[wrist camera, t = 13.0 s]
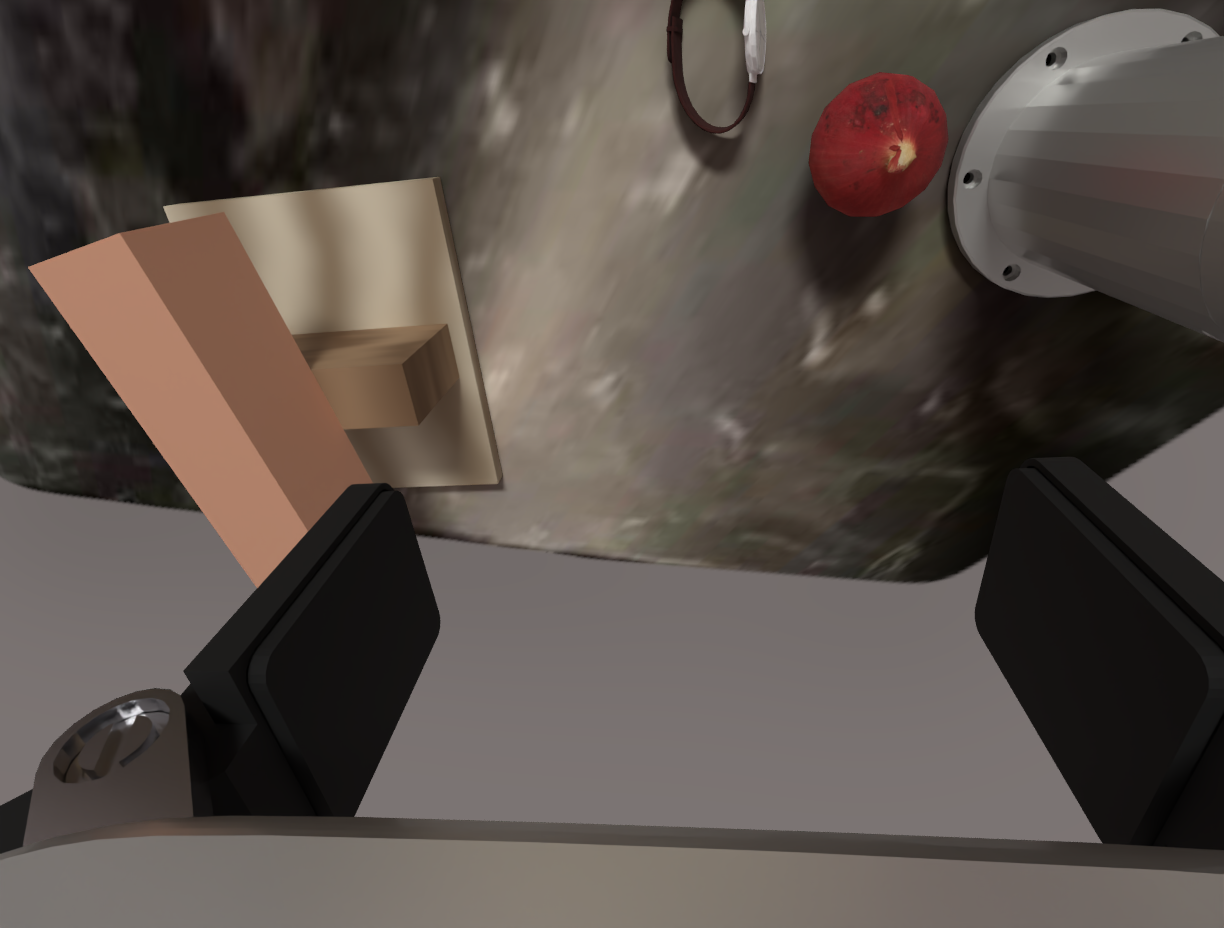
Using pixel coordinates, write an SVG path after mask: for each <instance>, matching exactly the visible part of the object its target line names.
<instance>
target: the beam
mask: <svg viewBox="0 0 1224 928" xmlns="http://www.w3.org/2000/svg"><path fill="white" fill-rule="evenodd" d="M28 268H29V269H30V271H31V272H32V274H33V275H34V276H35V278H36V279H37V281H38V282H39V283H40V285H41V286H42V288H43V289H44V290H45V292H46V293H47V295H48V296H49V297H50V299H51V300H52V302H53V303H54V304H55V306H56V307H57V309H58V310H59V311H60V313H61V314H62V316H63V317H64V318H65V320H66V321H67V323H68V324H69V325H70V327H71V328H72V330H73V331H74V332H75V334H76V335H77V337H78V338H79V339H80V341H81V342H82V344H83V345H84V346H85V348H86V349H87V351H88V352H89V353H90V355H91V356H92V358H93V359H94V360H95V362H96V363H97V365H98V366H99V367H100V369H101V370H102V372H103V373H104V374H105V376H106V377H107V379H108V380H109V381H110V383H111V384H112V386H113V387H114V388H115V390H116V391H117V393H118V394H119V395H120V397H121V398H122V400H123V401H124V402H125V404H126V405H127V407H128V408H129V409H130V411H131V412H132V414H133V415H134V416H135V418H136V419H137V421H138V422H139V423H140V425H141V426H142V428H143V429H144V430H145V432H146V433H147V435H148V436H149V437H150V439H151V440H152V442H153V443H154V444H155V446H156V447H157V449H158V450H159V451H160V453H161V454H162V456H163V457H164V458H165V460H166V461H167V463H168V464H169V465H170V467H171V468H172V470H173V471H174V472H175V474H176V475H177V477H178V478H179V479H180V481H181V482H182V484H183V485H184V486H185V488H186V489H187V491H188V492H189V493H190V495H191V496H192V498H193V499H194V500H195V502H196V503H197V505H198V506H199V507H200V509H201V510H202V512H203V513H204V514H205V516H206V517H207V518H208V520H209V521H210V523H211V524H212V526H213V527H214V528H215V530H216V531H217V533H218V534H219V535H220V537H221V538H222V540H223V541H224V542H225V544H226V545H227V547H228V548H229V549H230V551H231V552H232V554H233V555H234V556H235V558H236V559H237V560H238V562H239V563H240V565H241V566H242V567H243V569H244V570H245V572H246V573H247V574H248V576H249V577H250V579H251V580H252V582H253V583H254V584H255V586H256V587H257V588H258V587H259V586H260V585H261V584H262V582H263V581H264V580H265V579H266V578H267V577H268V576H269V575H270V574H271V572H272V571H273V570H274V569H275V568H276V567H277V566H278V565H279V563H280V562H281V561H282V560H283V559H284V558H285V557H286V556H287V555H288V553H289V552H290V551H291V550H292V549H293V548H294V547H295V546H296V544H297V543H298V542H299V541H300V540H301V539H302V538H303V537H304V536H305V534H306V533H307V532H308V531H309V530H310V529H311V528H312V527H313V525H314V524H315V523H316V522H317V521H318V520H319V519H320V518H321V516H322V515H323V514H324V513H325V512H326V511H327V510H328V509H329V508H330V506H331V505H332V504H333V503H334V502H335V501H336V500H337V499H338V497H339V496H340V495H341V494H342V493H343V492H344V491H345V490H346V489H347V487H349V486H350V485H352V484H368V483H373V482H372V480H371V478H370V477H369V475H368V473H367V471H366V469H365V468H364V466H363V464H362V462H361V460H360V458H359V457H358V455H357V453H356V451H355V449H354V448H353V446H352V444H351V442H350V440H349V438H348V437H347V435H346V433H345V431H344V429H343V428H342V426H341V424H340V422H339V420H338V418H337V417H336V415H335V413H334V411H333V409H332V407H331V406H330V404H329V402H328V400H327V398H326V397H325V395H324V393H323V391H322V389H321V387H320V386H319V384H318V382H317V380H316V378H315V377H314V375H313V373H312V371H311V369H310V367H309V366H308V364H307V362H306V360H305V358H304V357H303V355H302V353H301V351H300V349H299V347H298V346H297V344H296V342H295V340H294V338H293V336H292V335H291V333H290V331H289V329H288V327H287V326H286V324H285V322H284V320H283V318H282V316H281V315H280V313H279V311H278V309H277V307H276V306H275V304H274V302H273V300H272V298H271V296H270V295H269V293H268V291H267V289H266V287H265V286H264V284H263V282H262V280H261V278H260V276H259V275H258V273H257V271H256V269H255V267H254V265H253V264H252V262H251V260H250V258H249V256H248V255H247V253H246V251H245V249H244V247H243V245H242V244H241V242H240V240H239V238H238V236H237V235H236V233H235V231H234V229H233V227H232V225H231V224H230V222H229V220H228V218H227V216H226V215H225V213H224V212H221V213H216V214H211V215H206V216H201V217H196V218H191V219H186V220H182V221H177V222H172V223H167V224H162V225H157V226H152V227H147V228H143V229H138V230H133V231H128V232H123V233H119V234H116V235H113V236H111V237H108V238H105V239H103V240H100V241H97V242H95V243H92V244H89V245H86V246H84V247H81V248H78V249H76V250H73V251H70V252H68V253H65V254H62V255H59V256H57V257H54V258H51V259H49V260H46V261H43V262H41V263H38V264H35V265H32V266H30V267H28Z"/></svg>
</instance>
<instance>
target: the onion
mask: <svg viewBox="0 0 1224 928" xmlns="http://www.w3.org/2000/svg"><path fill="white" fill-rule="evenodd" d="M947 143H948V130H947V120H946V114H945V111H944V109H943V107H942V105H941V103H940V102H939V100H938V98H937V96H936V94H935V92H934V90H932V89H931V88H929V87H928V86H926V85H925V84H923V83H922V82H920V81H919V80H917V79H916V78H914V77H912V76H909V75H901V74H892V73H882V72H879V73H876V74H874V75H871V76H869V77H866V78H864V79H861V80H859V81H856V82H854V83H851V84H849V85H848V86H847V87H846V88H845V89H844V90H843V91H842V92H841V93H840V94H839V95H838V96H837V97H836V98H834V99H833V100H832V101H831V102H830V103H829V104H828V105H827V106H826V107H825V109H824V111H823V113H822V115H821V117H820V119H819V121H818V124H817V126H816V128H815V130H814V132H813V134H812V138H811V147H810V155H809V166H810V170H811V174H812V178H813V182H814V186H815V188H816V189H817V191H818V192H819V193H820V195H821V196H822V197H823V199H824V200H825V202H826V203H827V204H828V206H830V207H832V208H834V209H836V210H838V211H840V212H842V213H844V214H846V215H848V216H855V217H876V216H880V215H883V214H886V213H888V212H891V211H894V210H896V209H899V208H902V207H903V206H904V205H906V204H907V203H908V202H910V201H911V200H912V199H913V198H915V197H916V196H917V195H919V194H920V193H921V192H922V191H924V190H925V189H926V187H927V186H928V184H929V183H930V181H931V180H932V179H933V177H934V176H935V174H936V173H937V171H938V170H939V168H940V167H941V165H942V161H943V158H944V154H945V150H946V147H947Z"/></svg>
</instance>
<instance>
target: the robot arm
mask: <svg viewBox="0 0 1224 928" xmlns="http://www.w3.org/2000/svg"><path fill="white" fill-rule="evenodd" d="M1181 41H1182V42H1181ZM1048 54H1050V55H1051V62H1050V64H1049V65H1048V66H1046V58H1047V56H1048ZM967 173H969V174H970V179H969V181H968V182H966V183H963V179H964V177H965V175H966V174H967ZM948 215H949V220H950V225H951V230H952V233H953V236H954V238H955V240H956V242H957V245H958V247H959V249H960V251H961V253H962V254H963V255H964V257H965V258H966V259H967V261H968V262H969V263H970V264H971V266H972V267H973V268H974V269H975V270H977V271H978V272H979V273H980V274H982V275H983V276H984V277H985V278H987V279H988V280H989V281H991V282H993V283H995V284H997V285H999V286H1001V287H1003V288H1005V289H1008V290H1011V291H1014V292H1017V293H1020V294H1023V295H1027V296H1035V297H1044V298H1054V297H1068V296H1075V295H1079V294H1084V293H1088V292H1092V291H1096V290H1097V291H1099V292H1102V293H1104V294H1107V295H1109V296H1111V297H1114V298H1116V299H1119V300H1121V301H1124V302H1126V303H1129V304H1131V305H1133V306H1136V307H1138V308H1141V309H1143V310H1146V311H1148V312H1151V313H1153V314H1155V315H1158V316H1160V317H1163V318H1165V319H1168V320H1170V321H1173V322H1175V323H1177V324H1180V325H1182V326H1185V327H1187V328H1190V329H1192V330H1195V331H1197V332H1199V333H1202V334H1204V335H1207V336H1209V337H1212V338H1214V339H1217V340H1219V341H1222V342H1224V36H1219V35H1218V34H1217V33H1216V32H1215V31H1214V30H1213V29H1212V28H1211V27H1210V26H1208V25H1206V24H1204V23H1202V22H1200V21H1198V20H1197V19H1195V18H1193V17H1191V16H1189V15H1187V14H1182V13H1178V12H1173V11H1169V10H1164V9H1131V10H1126V11H1121V12H1116V13H1111V14H1106V15H1103V16H1100V17H1097V18H1094V19H1090V20H1087V21H1084V22H1081V23H1078V24H1075V25H1073V26H1071V27H1070V28H1068V29H1066V30H1064V31H1062V32H1060V33H1058V34H1056V35H1054V36H1052V37H1050V38H1048V39H1047V40H1045V41H1044V42H1043V43H1041V44H1040V45H1038V46H1037V47H1036V48H1034V49H1033V50H1032V51H1030V52H1029V53H1027V54H1026V55H1025V56H1023V57H1022V58H1021V59H1020V60H1019V61H1018V62H1016V63H1015V64H1014V65H1013V66H1012V67H1011V68H1010V69H1009V70H1008V71H1007V72H1006V73H1005V74H1004V75H1003V76H1002V77H1001V78H1000V79H999V80H998V81H997V82H996V84H995V85H994V86H993V87H992V89H991V90H990V91H989V93H988V94H987V95H986V97H985V98H984V99H983V100H982V102H981V103H980V104H979V106H978V107H977V109H976V111H975V113H974V114H973V116H972V118H971V120H970V121H969V123H968V125H967V127H966V129H965V130H964V132H963V134H962V137H961V140H960V142H959V145H958V148H957V150H956V153H955V156H954V158H953V162H952V167H951V172H950V177H949V183H948ZM1006 267H1008V270H1007V272H1005V273H1003V271H1004V269H1005V268H1006ZM975 622H976V626H977V629H978V632H979V634H980V636H981V638H982V639H983V641H984V643H985V644H986V646H987V648H988V649H989V651H990V653H991V655H992V656H993V658H994V660H995V661H996V663H997V665H998V666H999V668H1000V670H1001V672H1002V673H1003V675H1004V677H1005V678H1006V680H1007V682H1008V683H1009V685H1010V687H1011V689H1012V690H1013V692H1014V694H1015V695H1016V697H1017V699H1018V701H1019V702H1020V704H1021V706H1022V707H1023V709H1024V711H1025V712H1026V714H1027V716H1028V718H1029V719H1030V721H1031V723H1032V724H1033V726H1034V728H1035V729H1036V731H1037V733H1038V735H1039V736H1040V738H1041V740H1042V741H1043V743H1044V745H1045V747H1046V748H1047V750H1048V751H1049V753H1050V755H1051V757H1052V758H1053V760H1054V762H1055V763H1056V765H1057V767H1058V769H1059V770H1060V772H1061V774H1062V775H1063V777H1064V779H1065V780H1066V782H1067V784H1068V786H1069V787H1070V789H1071V791H1072V793H1073V794H1074V796H1075V798H1076V799H1077V801H1078V803H1079V804H1080V806H1081V808H1082V810H1083V811H1084V813H1085V814H1086V816H1087V818H1088V820H1089V822H1090V823H1091V825H1092V827H1093V828H1094V830H1095V832H1096V833H1097V835H1098V837H1099V838H1100V840H1101V841H1102V843H1103V844H1102V843H1083V842H1059V841H1034V840H1033V841H1031V840H1008V839H984V838H983V839H982V838H959V837H933V836H909V835H884V834H858V833H834V832H806V831H777V830H749V829H721V828H693V827H692V828H691V827H663V826H635V825H606V824H576V823H545V822H544V823H543V822H510V821H474V820H439V819H407V818H406V819H405V818H373V817H354V816H355V814H356V812H357V810H358V807H359V805H360V803H361V801H362V799H363V797H364V794H365V792H366V790H367V788H368V786H369V784H370V781H371V779H372V777H373V775H374V773H375V771H376V769H377V766H378V764H379V762H380V760H381V758H382V756H383V753H384V751H385V749H386V747H387V745H388V743H389V740H390V738H391V736H392V734H393V732H394V730H395V728H396V725H397V723H398V721H399V719H400V717H401V714H402V712H403V710H404V708H405V706H406V703H407V702H408V699H409V697H410V695H411V693H412V691H413V689H414V686H415V684H416V682H417V680H418V678H419V676H420V673H421V671H422V669H423V666H424V664H425V663H426V661H427V658H428V656H429V654H430V652H431V650H432V648H433V645H434V643H435V641H436V639H437V637H438V634H439V629H440V615H439V610H438V608H437V604H436V601H435V597H434V594H433V591H432V588H431V584H430V581H429V578H428V574H427V571H426V568H425V565H424V561H423V558H422V555H421V551H420V548H419V545H418V541H417V538H416V535H415V532H414V528H413V525H412V522H411V518H410V515H409V512H408V509H407V505H406V502H405V499H404V497H403V495H402V494H401V492H399V491H394V490H393V488H392V487H391V486H390V485H389V484H387V483H368V484H352V485H350V486H349V487H347V489H346V490H345V491H344V492H343V493H342V494H341V495H340V496H339V497H338V499H337V500H336V501H335V502H334V503H333V504H332V505H331V506H330V508H329V509H328V510H327V511H326V512H325V513H324V514H323V515H322V516H321V518H320V519H319V520H318V521H317V522H316V523H315V524H314V525H313V527H312V528H311V529H310V530H309V531H308V532H307V533H306V534H305V536H304V537H303V538H302V539H301V540H300V541H299V542H298V543H297V544H296V546H295V547H294V548H293V549H292V550H291V551H290V552H289V553H288V555H287V556H286V557H285V558H284V559H283V560H282V561H281V562H280V563H279V565H278V566H277V567H276V568H275V569H274V570H273V571H272V572H271V574H270V575H269V576H268V577H267V578H266V579H265V580H264V581H263V582H262V584H261V585H260V586H259V587H258V588H257V589H256V590H255V591H254V593H253V594H252V595H251V596H250V597H249V598H248V599H247V600H246V602H245V603H244V604H243V605H242V606H241V607H240V608H239V609H238V611H237V612H236V613H235V614H234V615H233V616H232V617H231V618H230V619H229V620H228V622H227V623H226V624H225V625H224V626H223V627H222V628H221V629H220V631H219V632H218V633H217V634H216V635H215V636H214V637H213V638H212V640H211V641H210V642H209V643H208V644H207V645H206V646H205V647H204V649H203V650H202V651H201V652H200V653H199V654H198V655H197V656H196V658H195V659H194V660H193V661H192V662H191V663H190V664H189V665H188V666H187V668H186V669H185V670H184V673H185V675H186V676H187V678H188V680H189V681H190V683H191V684H190V685H189V686H188V687H187V689H186V690H185V691H184V692H183V693H182V694H181V695H179V694H177V693H176V692H173V691H172V690H170V689H160V688H153V689H147V690H141V691H136V692H133V693H130V694H127V695H124V696H122V697H119V698H116V699H114V700H112V701H110V702H108V703H106V704H104V705H102V706H100V707H99V708H97V709H95V710H93V711H92V712H90V713H89V714H87V715H86V716H85V717H83V718H81V719H80V720H79V721H77V722H76V723H74V724H73V725H72V726H71V727H70V728H69V729H67V731H65V732H64V733H63V734H62V735H61V736H60V737H59V738H58V739H57V740H56V741H55V742H54V743H53V744H52V746H51V747H50V748H49V750H48V751H47V752H46V754H45V755H44V756H43V757H42V759H41V762H40V764H39V767H38V770H37V772H36V775H35V780H34V786H33V789H32V790H30V791H28V792H26V793H24V794H22V795H20V796H18V797H16V798H15V799H13V800H11V801H9V802H7V803H5V804H3V805H1V806H0V928H1224V582H1223V581H1222V580H1221V579H1220V578H1219V577H1217V576H1216V575H1215V574H1214V573H1213V572H1212V571H1210V570H1209V569H1208V568H1207V567H1205V566H1204V565H1203V564H1202V563H1201V562H1200V561H1199V560H1197V559H1196V558H1195V557H1194V556H1193V555H1191V554H1190V553H1189V552H1188V551H1187V550H1186V549H1184V548H1183V547H1182V546H1181V545H1180V544H1178V543H1177V542H1176V541H1175V540H1174V539H1172V538H1171V537H1170V536H1169V535H1168V534H1167V533H1165V532H1164V531H1163V530H1162V529H1161V528H1160V527H1158V526H1157V525H1156V524H1155V523H1154V522H1152V521H1151V520H1150V519H1149V518H1148V517H1147V516H1145V515H1144V514H1143V513H1142V512H1141V511H1139V510H1138V509H1137V508H1136V507H1135V506H1134V505H1132V504H1131V503H1130V502H1129V501H1128V500H1127V499H1125V498H1124V497H1123V496H1122V495H1121V494H1119V493H1118V492H1117V491H1116V490H1115V489H1114V488H1112V487H1111V486H1110V485H1109V484H1108V483H1106V482H1105V481H1104V480H1103V479H1102V478H1101V477H1099V476H1098V475H1097V474H1096V473H1095V472H1093V471H1092V470H1091V469H1090V468H1089V467H1088V466H1086V465H1085V464H1084V463H1083V462H1082V461H1080V460H1079V459H1077V458H1075V457H1052V458H1029V459H1027V460H1025V461H1024V462H1023V463H1022V465H1021V466H1020V469H1013V470H1011V471H1010V473H1009V474H1008V477H1007V480H1006V484H1005V488H1004V492H1003V496H1002V500H1001V504H1000V509H999V513H998V517H997V521H996V525H995V529H994V533H993V537H992V541H991V545H990V550H989V554H988V558H987V562H986V567H985V570H984V574H983V578H982V583H981V587H980V591H979V595H978V599H977V603H976V607H975Z"/></svg>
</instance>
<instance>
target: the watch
mask: <svg viewBox="0 0 1224 928" xmlns="http://www.w3.org/2000/svg"><path fill="white" fill-rule="evenodd" d="M682 1H683V0H671V5H670V10H669V17H668V27H667V56H668V60H669V62H670V63H671V64H672V71H673V78H674V84H675V88H676V91H677V94H678V97H679V100H680V102H681V104H682V106H683V108H684V110H685V112H686V113H687V115H688V116H689V117H690V119H691V120H692V121H693V122H694V123H695V124H696V125H697V126H699V127H700V128H701V129H702V130H704V131H707V132H710V133H720V134H721V133H724V132H727V131H729V130H731V129H732V128H733V127H735V126H736V125H737V124H739V123H740V122H741V121H742V119H743V118H744V117H745V115H746V114H747V112H748V110H749V108H750V105H751V102H752V100H753V95H754V90H755V83H757V74H761V73H762V72H763V70H764V62H765V51H766V18H765V6H764V0H746V3H745V14H744V29H743V35H744V40H745V57H746V66H747V72H748V74H749V84H748V95H747V99H746V103H745V106H744V109H743V111H742V112H741V114H740V116H739V118H738V119H737V120H736V121H735V123H734V124H732V125H730V126H728V127H715V126H712V125H711V124H709V123H707V122H706V121H704V120H703V119H702V118H701V117H700V116H699V115H698V113H697V112H696V110H695V109H694V107H693V106H692V104H691V102H690V99H689V97H688V94H687V91H686V87H685V83H684V77H683V68H682V44H681V42H682V30H683V29H682V24H683V20H682V19H680V18H679V17H680V12H681V6H682Z"/></svg>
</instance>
